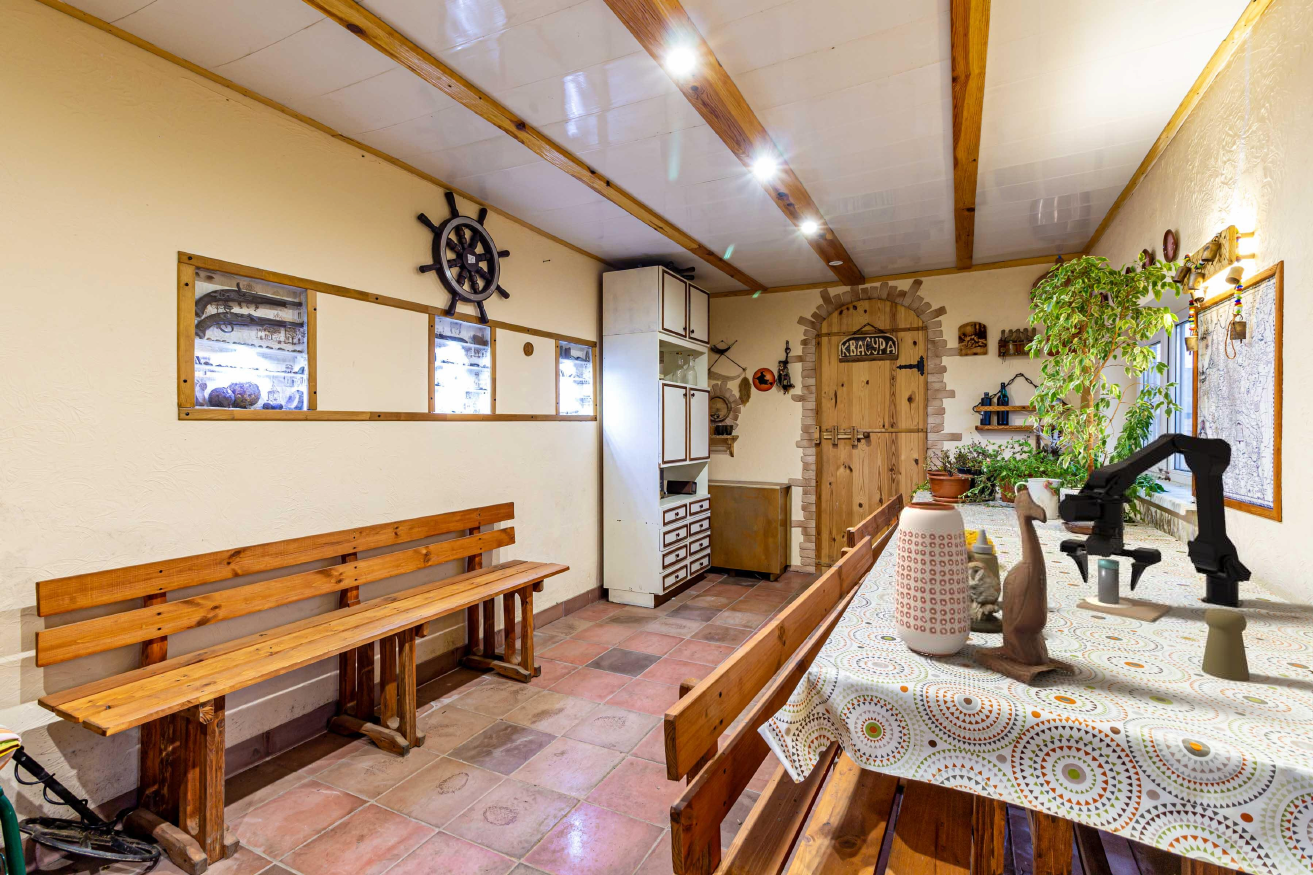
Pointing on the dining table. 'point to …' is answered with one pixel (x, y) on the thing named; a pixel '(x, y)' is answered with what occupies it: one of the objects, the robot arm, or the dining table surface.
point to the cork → (1225, 645)
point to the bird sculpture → (1024, 606)
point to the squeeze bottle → (986, 555)
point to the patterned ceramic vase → (932, 579)
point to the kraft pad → (1127, 608)
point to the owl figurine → (982, 597)
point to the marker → (1108, 581)
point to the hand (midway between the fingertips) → (1108, 586)
